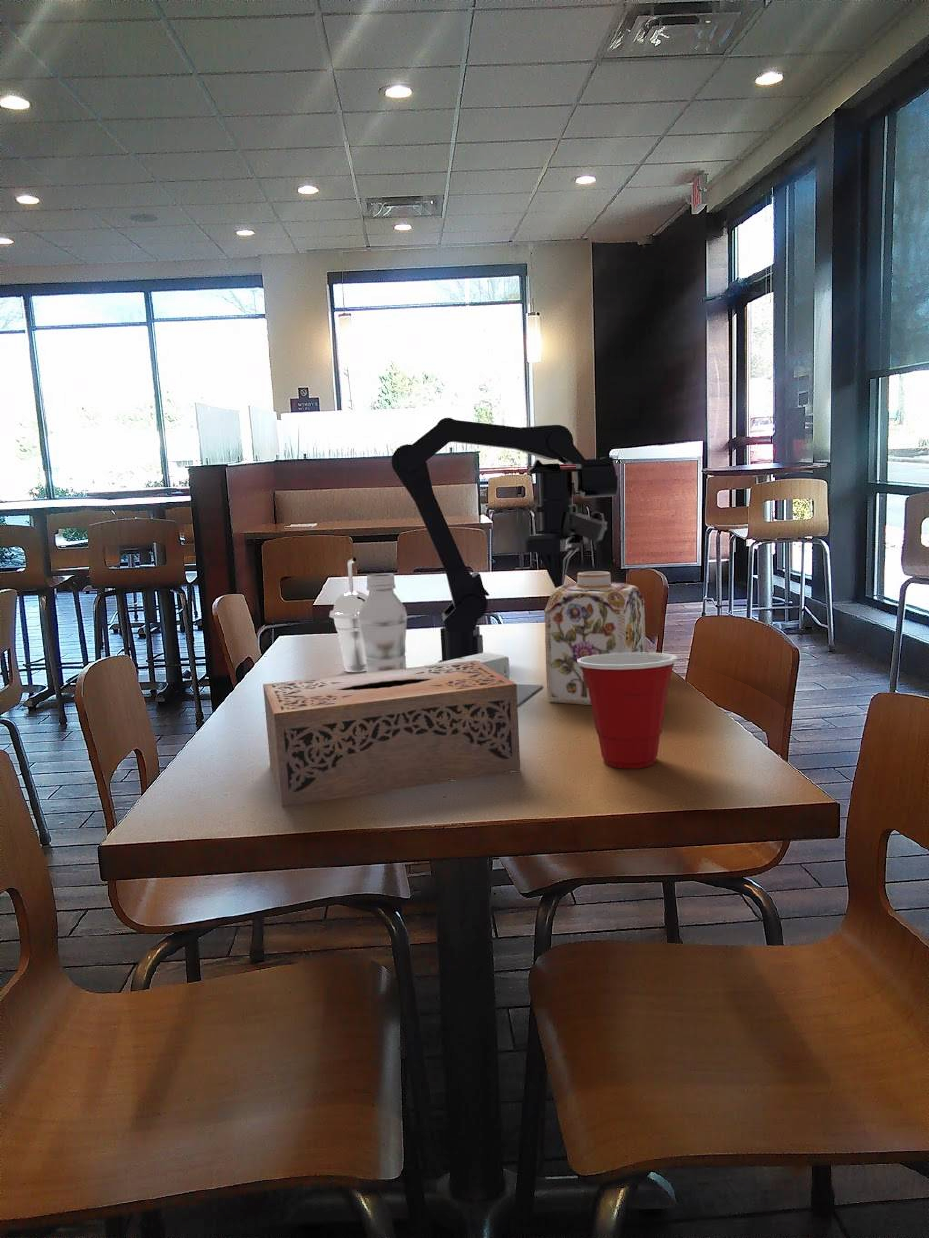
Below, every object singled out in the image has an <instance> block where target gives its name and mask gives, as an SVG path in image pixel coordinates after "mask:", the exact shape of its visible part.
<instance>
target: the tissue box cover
mask: <svg viewBox="0 0 929 1238" xmlns="http://www.w3.org/2000/svg"><path fill="white" fill-rule="evenodd" d="M430 665H431V664H430ZM517 684H518V683H515V682H514V681H512V680H510V678H509V679H507V678H505V677H503V676H502V675H500V674H498V673H497V672H495V671H493V670H491V669H490V668H488V667H486V666H485V665H483V664H481V663H480V662H478V661H467V662H458V663H449V664H440V665H431V666H426V665H423V666H415V667H414V666H413V667H406V668H405V669H396V670H387V671H378V672H369V673H367V672H359V673H351V674H344V675H335V676H326V677H325V676H324V677H316V678H307V679H298V680H290V681H282V682H272V683H263V685H262V687H263V688H262V689H263V701H264V708H265V709H264V710H265V712H264V713H265V723H266V732H267V745H268V753H269V754H268V756H269V757H268V758H269V766H270V769H271V772H272V776H273V779H274V783H275V788H276V791H277V794H278V797H279V800H280V805H281V807H288V806H295V805H301V804H308V803H309V804H310V803H316V802H321V801H328V800H330V801H331V800H334V799H341V798H347V797H348V798H349V797H354V796H363V795H368V794H370V795H371V794H375V793H382V792H389V791H396V790H401V789H402V790H403V789H409V788H415V787H422V786H429V785H434V784H435V783H436V784H441V783H442V782H443V783H447V781H449V782H452V781H451V780H456V781H462V780H469V779H474V778H475V779H476V778H481V777H487V776H488V775H489V776H494V775H501V773H503V774H508V773H507V772H509V773H512V772H511V771H516V772H521V758H520V757H521V756H520V755H521V754H520V753H521V752H520V735H519V734H520V731H519V706H518V705H517ZM443 783H442V784H443ZM436 784H435V785H436Z"/></svg>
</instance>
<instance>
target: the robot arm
mask: <svg viewBox="0 0 929 1238" xmlns="http://www.w3.org/2000/svg"><path fill="white" fill-rule="evenodd" d="M449 443H457V444H465V445H475V446H482V447H483V446H484V447H491V448H501V449H509V450H516V451H519V452H522V453H525V454H528V455H530V456H533V457H537V458H540V459H544V460H547V461H556V460H557V461H558V462H560V463H561V464H563V465H565V466H573V465H575V466H576V467H575V468H566V469H565V468H564V469H563V468H561V465H560V463H556V462H555V463H554V462H553V463H542V462H541V461H540V460H539V459H536V460H534V463H533V464H532V465H531V467H530V468H528V470H527V471H526V473H527V474H528V475H537V474H538V484H539V485H538V487H539V488H538V491H539V493H538V494H539V506H538V505H537V506H536V513H539V516H540V517H539V518H540V529H538V530H537V531H536V533H534V534H530V535H529V536H528V537H527V538H526V539H525V540H524V552H525V553H536V555H538V557H539V560H541V562H542V564H543V566H544V568H545V570H546V572H547V574H548V576H549V578H550V580H551V582H552V585H553V586H554V589H556V588H557V587H560V586H563V585H565V582H566V581H565V580H566V576H567V571H568V567H569V561H570V560H571V557H572V556H573V555H574V554H575V553H576V552H577V551H578V550H580V547H579V546H578V547H577V546H576V547H575V546H574V547H572V544H581V545H584V544H588V543H589V541H591V542H596V543H598V542H599V541H603V537H604V534H605V532H606V531H607V530H608V526H607V525H608V521H605V515H604V513H601V512H599V511H594V512H592V513H591V515H587V514H582V513H579V507H578V505H577V504H576V503H574V502H573V501H574V500H573V497H574V496H573V495H574V493H573V492H574V491H575V493H580V497H581V498H582V499H585V498H586V499H589V498H590V499H591V498H605V497H607V498H608V497H615V496H616V494H617V491H618V475H617V471H616V467H615V464H614V457H613V456H606V457H600V458H587V459H586V458H585V457H584V456H583V454H582V453H581V452H580V451H579V449H578V448H577V446H576V445H575V444H574V437H573V434H572V433H571V430H570V429H569V428H568V427H566V426H565V425H562V424H548V425H546V424H545V425H535V426H526V427H524V426H523V427H522V426H519V427H518V426H517V427H516V426H510V425H501V424H493V423H486V422H485V423H484V422H477V421H475V422H474V421H469V420H468V421H466V420H459V419H454V418H452V417H444V418H441V419H440V420H439V421H438V422H437V424H436V425H435V426H433V427H432V428H431V429H429V430H428V431H427V432H426V433H424V435H423V436H421V437H420V438H418V439H417V440H416V441H415V442H414V443H412V444H407V443H406V444H402V445H400V446H399V447H397V448H396V449H395V451H394V452H393V453H392V457H391V467H392V469H393V472H395V474H396V477H398V479H399V480H400V482H401V484H402V485H403V486H404V487H405V489H406V490H407V492H408V494H409V495H410V497H411V499H412V501H414V503H415V506H416V508H417V511H418V513H419V514H420V517H421V519H422V521H423V524H424V526H425V528H426V531H427V533H428V535H429V537H430V540H431V543H432V544H433V547H434V548H435V549H434V550H435V552H436V554H437V555H438V558H439V560H440V562H441V565H442V567H443V568H444V571H445V575H446V579H447V584H448V588H449V592H450V596H451V601H452V602H451V603H450V604H449V605H448V606H447V608H446V609H445V610H444V611H443V612H442V613H441V617H442V620H443V623H444V626H443V627H441V628H440V629H439V630H440V631H439V632H440V646H441V659H440V660H438V662H437V663H439V662H443V661H448V660H452V659H457V658H462V657H466V656H471V655H475V654H480V653H484V640H483V639H484V638H483V635H482V634H481V633H480V632H481V631H480V626H479V625H477V624H478V621H479V619H481V618H482V617H484V615H486V613H487V610H488V607H489V602H488V600H487V599H488V598H487V597H489V596H490V593H489V592H488V591H487V589H485V587H484V584H483V581H482V576H481V574H480V572H479V571H478V570H475V571H473V572H472V573H471V572H470V571H469V569H468V568H467V566H466V563H465V561H464V559H463V558H462V555H461V553H460V551H459V548H458V546H457V543H456V542H455V539H454V537H453V535H452V533H451V531H450V527H449V526H448V523H447V521H446V518H445V517H444V513H443V511H442V509H441V507H440V505H439V503H438V500H437V497H436V496H435V494H434V493H435V492H434V490H433V485H432V481H431V476H430V472H429V468H428V467H429V466H428V464H427V461H429V460H430V459H431V458H432V457H433V456H434V455H435V454H437V453H438V452H439V451H440V450H442V449H443V448H444V447H445V446H447V445H448V444H449ZM573 488H574V491H573Z"/></svg>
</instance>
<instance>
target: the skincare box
mask: <svg viewBox="0 0 929 1238" xmlns="http://www.w3.org/2000/svg"><path fill="white" fill-rule="evenodd" d="M467 661H478V662H480V663H481V664H483V665H485V666H486V667H488V668H490V669H491V670H493V671H495V672H497V673H498V674H500V675H502V676H503V677H505V678H507V679H509V680H510V658H509V657H508V656H507V655H503V654H501V653H500V654H499V653H491V652H483V653H480V654H475V655H471V656H466V657H462V658H457V659H452V660H448V661H443V662H439V663H438V662H436V663H431V664H427V665H425V666H431V665H440V664H449V663H458V662H467Z"/></svg>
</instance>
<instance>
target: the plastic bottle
mask: <svg viewBox="0 0 929 1238" xmlns="http://www.w3.org/2000/svg"><path fill="white" fill-rule="evenodd" d="M394 575H395V574H394V573H377V574H375V573H374V574H369V575H366V591H368V595H367V596H368V597H367V598H366V600H365V601H364V603H363V605H362V607H361V609H360V612H359V624H360V628H361V633H362V637H363V642H364V648H365V656H366V664H367V671H366V673H369V672H378V671H387V670H396V669H405V668H407V664H406V663H407V661H406V658H407V657H406V651H407V650H406V637H407V624H408V623H407V621H408V614H407V610H406V607H405V605H404V604H403V603H402V601H401V599H400V598H399V597H398V596H397V595H396V594H395V592H394V589H396V583H395V576H394Z"/></svg>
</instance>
